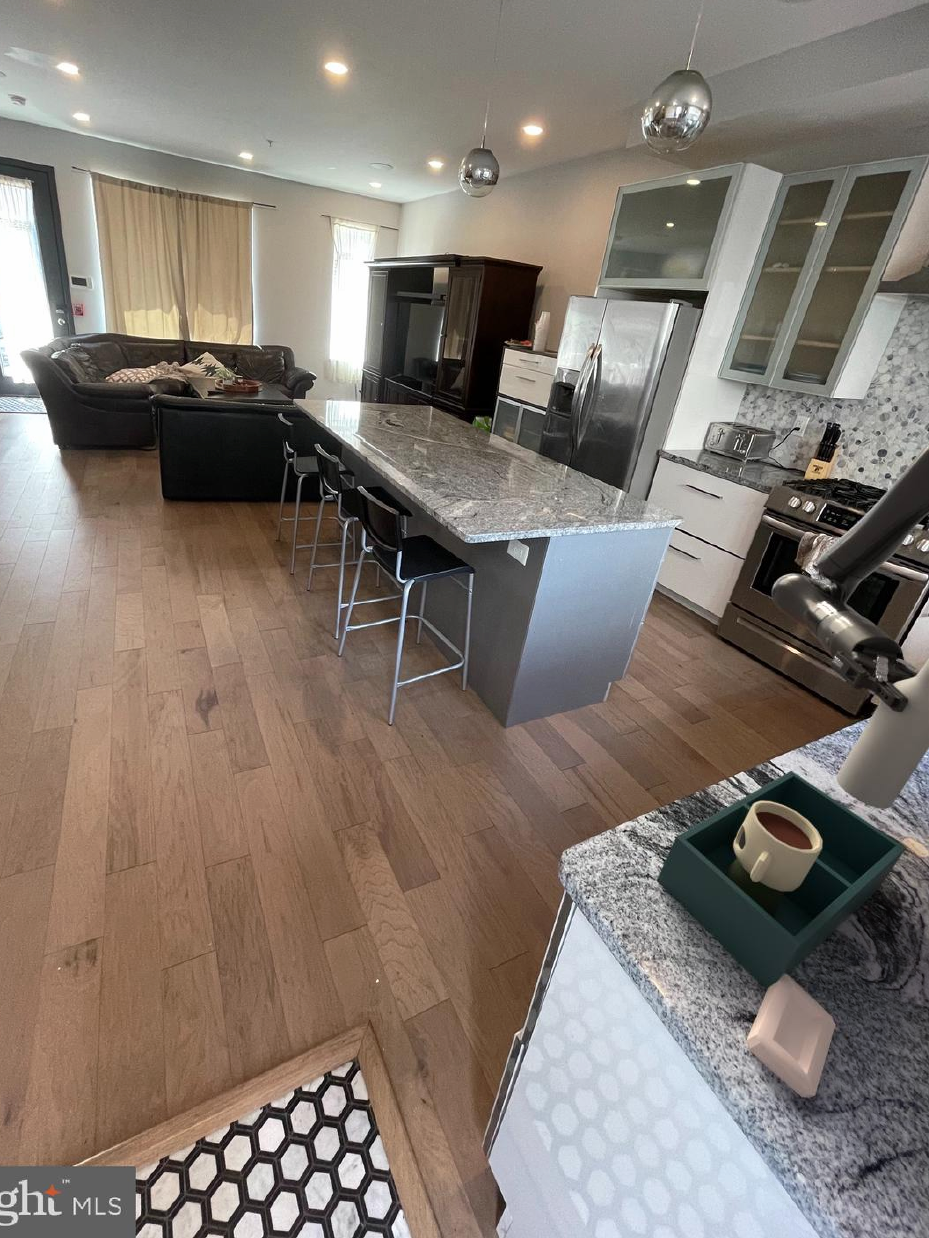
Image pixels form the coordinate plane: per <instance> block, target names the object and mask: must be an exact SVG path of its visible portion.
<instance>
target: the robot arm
mask: <svg viewBox="0 0 929 1238" xmlns="http://www.w3.org/2000/svg"><path fill="white" fill-rule="evenodd" d="M927 515H929V441H928V442H927V443H926V444H925V445H924V447H922V449H921V450H920V451H919V452H918V453H917V454H916V456H915V457H914V459H913V460H912V461H911V463H909V465H908V466H907V467H906V469H905V470H904V471H903V472H902V474H901V475H900V476H899V477H898V479H896V480H895V482H894V483H893V484H892V486H890V488H889V489H888V490H887V491H886V492H885V493H884V495H882V497H881V498H880V499H879V500H878V501H877V502H876V503H875V505H873V506H872V508H871V509H869V511H868V512H867V513H866V514H865V515H864V516H862V518H861V519H860V520H858V521H857V522H856V523H855V524H854V525H853V526H852V527H851V528H850V529H849V530H847V531H846V532H845V533H844V534H843V535H842V536H841V537H839V538H838V539H837V540H836V541H835V542H834V543H833V544H832V545H831V546H830V547H829V548H828V549H826V550H825V551H824V552H823V553H822V554H821V555H819V557H818V559H817V561H816V567H817V569H818V571H819V572H820V573H821V574H822V576H824V577H825V578H826V579H827V580H826V581H825V582H821V581H819V580H816V579H815V578H811V577H808V576H806V575H804V574H801V573H796V572H795V573H787V574H784V575H782V576H780V577H779V578H777V580H776V581H775V582H774V584H773V585H772V589H771V596H772V597H771V598H772V601H773V603H774V605H775V606H776V608H778V610H780V612H782V613H784V614H785V615H786V616H788V617H789V618H791V619H792V620H794V621H795V622H796V623H798V624H800V625H801V626H803V627H804V628H805V629H807V630H808V631H809V632H810V633H811V635H812V636H813V637H814V638H815V639H816V640H817V641H818V642H819V643H820V644H821V646H822V648H823V649H824V650H825V651H826V652H827V653H828V655H830V657H831V658H832V661H831V662H830V663H829V666H830V667H831V668H832V669H833V671H835V672H836V673H837V674H838V675H839V676H840V677H841V678H843V679H844V680H845V682H847V683H848V684H849V685H850V686H851V687H853V688H854V689H855V690H859V691H862V690H863V689H866V690H867V691H868V693H870V694H871V695H873V696H877V697H878V698H879V699H880V700H881V701H883V702H884V703H885V704H887V705H888V706H889V707H890V708H891V709H892V710H893V711H896V712H902V711H903V710H904V708H905V706H906V705H907V703H908V699H907V697H906V696H905V695H903V694H902V693H901V692H900V691H899V690H898V689H897V688H896V687H895V686H894V685H893V684H894V683H896V682H898V681H902V680H906V679H910V678H913V677H915V676H916V675H917V674H918V673H919V672H920V670H919V669H917V668H916V666H913V665H912V663H911V662H908V661H906V660H905V657H904V652H903V649H902V647H901V646H900V644H899V643H898V642H897V641H896V640H894V639H893V638H892V637H891V636H890V635H888V634H887V633H886V632H884V631H883V629H881V628H879V626H877V625H876V624H875V623H873V622H872V621H870V619H868V618H867V617H864V616H862V615H861V614H859V613H858V612H857V611H856V610H854V609H853V608H852V607H851V606H850V605H849V604H847V602H848V600H849V599H850V597H851V595H852V594H853V593H854V591H855V590H856V588H858V586H859V584H860V583H861V582H862V581H863V580H865V579H866V578H867V577H869V576H870V575H871V574H872V573H874V572H875V571H876V570H878V569H879V568H880V567H881V566H882V565H883V564H885V562H887V561H888V560H890V558H892V557H893V556H894V555H895V554H896V552H897V551H898V550H899V548H901V546H902V545H903V544H904V542H905V541H906V539H907V538H908V537H909V535H910V534H911V533H912V531H913V530H914V529H915V528H916V526H917V525H918V524H919V523H920V522H921V521H922V520H923V519H924V518H925V517H926V516H927Z"/></svg>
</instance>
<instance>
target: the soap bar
mask: <svg viewBox="0 0 929 1238" xmlns="http://www.w3.org/2000/svg"><path fill="white" fill-rule="evenodd" d="M835 1028H836V1023H835V1020H834V1018H833V1016H832V1015H831V1014H829V1012H827V1010H826V1009H825V1008H823V1007H822V1005H820V1004H819V1003H818V1001H817V1000H815V999H814V998H813V997H812V996H811V995H810V994H809V993H808V992H807V991H806V990H805V989H804V988H802V986H801V985H800V984H798V983H797V981H796V980H794V979H793V978H792V977H791V975H790V974H789V975H788V974H784V975H783V976H782V977H781V978H780V979H779V980H778V981H777V982H776V983H775V984H773V985H771V986H770V987H769V988H768V990H766V993H765V995H764V998H763V1000H762V1002H761V1005H760V1007H759V1009H758V1012H757V1014H756V1017H755V1019H754V1021H753V1024H752V1026H751V1028H750V1031H749V1033H748V1036H747V1038H746V1044H747V1047H748V1049H749V1050H750V1052H752V1054H753V1055H754V1056H755V1057H756V1058H757V1059H758V1060H759V1061H760V1062H761V1063H762V1064H763V1065H765V1066H766V1067H767V1068H768V1069H769V1070H770V1071H771V1072H773V1073H774V1074H775V1075H776V1076H777V1077H778V1078H779V1079H780V1080H781V1081H783V1082H784V1083H785V1084H786V1085H788V1086H789V1088H791V1089H792V1090H793V1091H794V1092H795V1093H797V1094H798V1095H799V1096H800V1097H801V1098H806V1099H811V1098H812V1097H814V1096H816V1094H817V1091H818V1087H819V1083H820V1080H821V1076H822V1073H823V1069H824V1066H825V1062H826V1059H827V1055H828V1053H829V1049H830V1045H831V1043H832V1038H833V1035H834V1032H835Z"/></svg>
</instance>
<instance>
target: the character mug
mask: <svg viewBox="0 0 929 1238" xmlns="http://www.w3.org/2000/svg"><path fill="white" fill-rule="evenodd" d="M733 848H734V852H735V854H736V856H737V858H736V860H735V861H734V862H733V863H732V864H731V866H730V867H729V868H728V869H727V871H726V872H725V873H724V875H726V876H727V877H728V878H729V879H730V880H731V881H732V882H733V883H734V884H736V885H737V886H738V887H739V888H740V889H741V890H742V891H743V892H745V893H746V894H747V895H748V896H749V897H750V898H751V899H752V900H753V901H755V902H756V903H757V904H758V905H759V906H760V907H761V908H762V909H763V910H765V911H766V912H767V913H768V914H769V915H770V916H771V917H772V918H773V919H774V918H775V916H776V913H777V911H778V909H779V906H780V903H781V900H782V897H783V894H784V891H793V890H795V889H796V888H798V887H799V886H800V885H801V883H802V882H803V880H804V878H805V877H806V875H807V873H808V872H809V870H810V868H811V867H812V865H813V863H814V862H815V860H816V858H817V857H818V855H819V853H820V851H821V849H822V839H821V837H820V835H819V833H818V831H817V830H816V829H815V827H814V826H813V825H812V824H811V823H810V822H809V821H808V820H807V819H805V818H804V817H803V816H801V815H800V814H799V813H797V812H796V811H794V810H792V809H790V808H788V807H786V806H784V805H782V804H778V803H775V802H771V801H758V802H755V803H754V804H753V805H752V807H751V809H750V811H749V813H748V815H747V817H746V819H745V821H744V822H743V824H742V826H741V828H740V830H739V831H738V834H737V836H736V838H735V840H734V845H733Z"/></svg>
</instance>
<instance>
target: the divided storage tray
mask: <svg viewBox="0 0 929 1238" xmlns="http://www.w3.org/2000/svg"><path fill="white" fill-rule="evenodd" d="M758 801H771V802H775V803H778V804H782V805H784V806H786V807H788V808H790V809H792V810H794V811H796V812H797V813H799V814H800V815H801V816H803V817H804V818H805V819H807V820H808V821H809V822H810V823H811V824H812V825H813V826H814V827H815V829H816V830H817V831H818V833H819V835H820V837H821V839H822V849H821V851H820V853H819V855H818V857H817V858H816V860H815V862H814V863H813V865H812V867H811V868H810V870H809V872H808V873H807V875H806V877H805V878H804V880H803V882H802V883H801V885H800V886H799V887H798V888H796V889H795V890H793V891H784V894H783V897H782V900H781V903H780V906H779V909H778V911H777V913H776V916H775V918H774V919H773V918H772V917H771V916H770V915H769V914H768V913H767V912H766V911H765V910H763V909H762V908H761V907H760V906H759V905H758V904H757V903H756V902H755V901H753V900H752V899H751V898H750V897H749V896H748V895H747V894H746V893H745V892H743V891H742V890H741V889H740V888H739V887H738V886H737V885H736V884H734V883H733V882H732V881H731V880H730V879H729V878H728V877H727V876H726V875H724V873H725V872H726V871H727V869H728V868H729V867H730V866H731V864H732V863H733V862H734V861H735V860H736V858H737V856H736V854H735V852H734V848H733V845H734V840H735V838H736V836H737V834H738V831H739V830H740V828H741V826H742V824H743V822H744V821H745V819H746V817H747V815H748V813H749V811H750V809H751V807H752V805H753V804H754V803H755V802H758ZM906 850H907V847H906V846H904V845H902V844H901V843H899V842H898V841H896V839H893V838H892V837H890V836H889V835H888V834H886V833H885V832H883V831H881V830H880V829H879V828H877V827H876V826H874V825H872V824H871V823H869V822H868V821H867V820H865V819H864V818H862V817H861V816H859V815H858V814H856V813H855V812H853V810H850V809H849V808H847V807H846V806H845V805H843V804H841V803H840V802H838V801H837V800H835V799H834V798H832V797H831V796H830V795H828V794H826V792H824V791H822V790H821V789H819V788H818V787H817V786H815V785H813V784H812V783H810V782H809V781H807V780H806V779H804V778H803V777H802V776H800V775H798V774H797V773H795V772H794V771H793V770H789V771H788V772H786V773H785V774H782V775H781V776H779V777H777V778H776V779H774V780H773V781H771V782H769V783H767V784H766V785H764V786H761V787H760V788H758V789H757V790H755V791H753V792H752V793H750V794H748V795H746V796H745V797H743V798H741V799H739V800H737V801H736V802H734V803H732V804H730V805H729V806H727V807H725V808H723V809H721V810H720V811H719V812H718V811H717V812H716V813H715V814H712V815H711V816H710V817H707V818H706V819H704V820H702V821H701V822H699V823H698V824H695V825H694V826H692V827H690V828H689V829H687V830H685V831H683V832H681V833H680V834H678V835H677V836H675V838H674V840H673V843H672V845H671V847H670V849H669V851H668V854H667V855H666V858H665V860H664V863H663V865H662V867H661V869H660V872H659V874H658V875H657V878H656V880H657V881H658V883H659V884H660V885H662V886H663V888H664V889H665V890H667V891H668V893H670V895H672V897H673V898H674V899H675V900H677V902H678V903H679V904H680V905H681V906H682V907H684V909H685V910H686V911H687V912H688V913H689V914H690V915H691V916H692V917H693V918H694V919H695V920H696V921H697V922H698V923H699V924H700V925H701V926H702V927H703V928H704V929H705V930H706V931H707V932H708V933H709V934H710V935H711V936H712V937H713V938H714V939H715V940H716V941H717V942H718V943H719V944H720V945H721V946H722V947H723V948H724V949H725V950H726V951H727V952H728V953H729V954H730V955H731V956H732V957H733V958H734V959H735V960H736V961H737V962H738V963H739V964H740V965H741V966H742V967H743V969H745V970H746V971H747V972H748V973H749V974H750V975H751V976H752V977H753V978H754V979H755V980H756V981H757V982H758V983H759V985H760V986H762V987H763V988H764V989H765V990H766V991H767V990H768V988H769V987H770V986H771V985H773V984H775V983H776V982H777V981H778V980H779V979H780V978H781V977H782V976H783V975H784V974H788V975H789V976H790V974H792V973H793V972H794V971H795V970H796V969H797V968H798V967H799V966H800V965H801V964H802V963H803V962H804V961H805V960H806V959H807V958H808V957H809V956H810V955H812V953H814V952H815V950H816V949H818V947H820V946H821V945H822V944H823V943H824V942H825V941H826V940H827V939H828V938H829V937H830V936H831V935H832V934H833V933H835V932H836V930H838V929H839V928H840V927H841V926H842V925H843V924H844V923H845V922H846V921H847V920H848V919H849V918H850V917H851V916H852V915H853V914H854V913H855V912H856V911H857V910H858V909H859V908H861V906H862V905H864V903H866V902H867V901H868V900H869V899H870V898H871V897H872V896H873V895H874V894H875V893H876V892H877V891H878V890H879V889H880V888H881V886H882V885H883V883H884V882H885V881H886V879H887V878H888V876H889V874H890V873H891V872H892V870H893V869H894V867H895V865H896V864H897V863H898V861H899V860H900V858H901V857H902V855H903V854H904V852H905V851H906Z"/></svg>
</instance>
